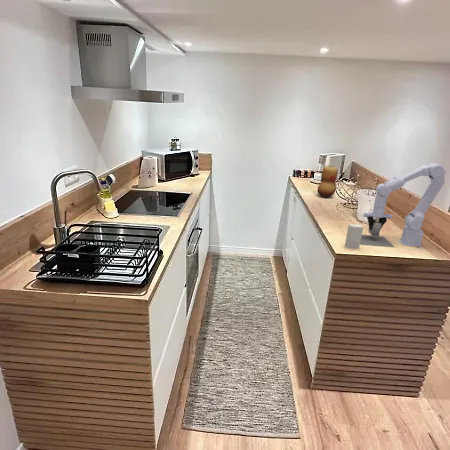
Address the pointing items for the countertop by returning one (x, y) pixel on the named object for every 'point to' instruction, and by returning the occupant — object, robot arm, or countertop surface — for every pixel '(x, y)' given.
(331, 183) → the butternut squash
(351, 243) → the skincare box
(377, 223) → the connector
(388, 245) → the mat
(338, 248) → the countertop surface
